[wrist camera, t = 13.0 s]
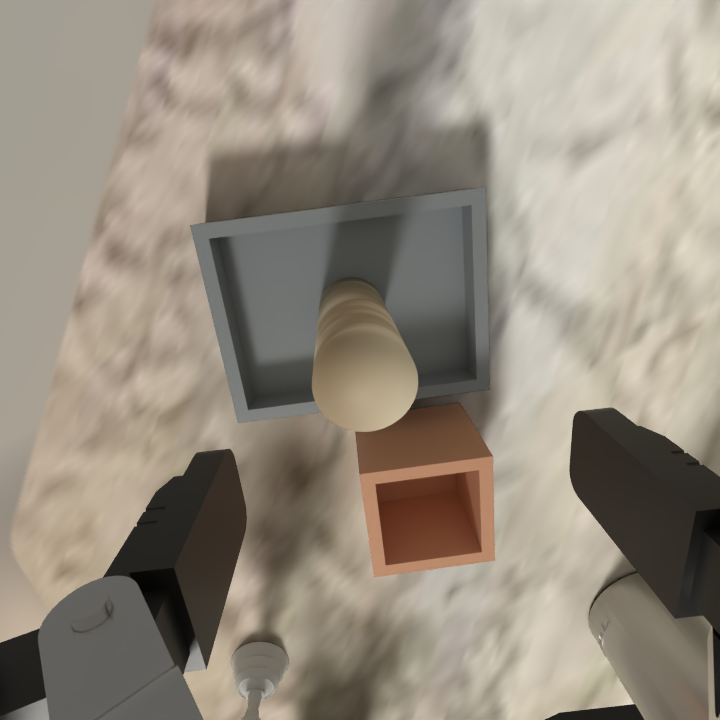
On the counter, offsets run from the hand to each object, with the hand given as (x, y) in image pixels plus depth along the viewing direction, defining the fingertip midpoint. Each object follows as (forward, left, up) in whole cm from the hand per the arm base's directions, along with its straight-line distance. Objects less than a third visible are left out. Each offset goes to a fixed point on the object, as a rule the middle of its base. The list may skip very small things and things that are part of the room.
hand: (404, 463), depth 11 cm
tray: (+1, 0, -19) cm, 19 cm away
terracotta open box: (-2, +12, -19) cm, 23 cm away
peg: (+1, +1, -18) cm, 18 cm away
